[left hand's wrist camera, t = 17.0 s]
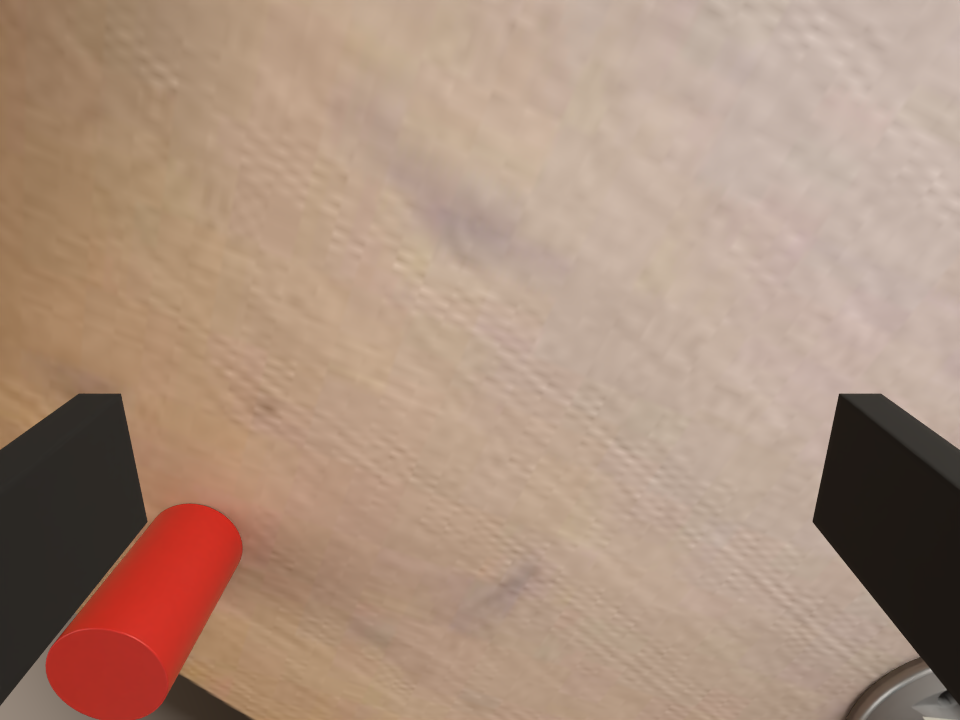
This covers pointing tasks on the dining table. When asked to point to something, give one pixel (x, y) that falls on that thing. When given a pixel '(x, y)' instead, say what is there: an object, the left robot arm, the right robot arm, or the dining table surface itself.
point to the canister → (146, 616)
